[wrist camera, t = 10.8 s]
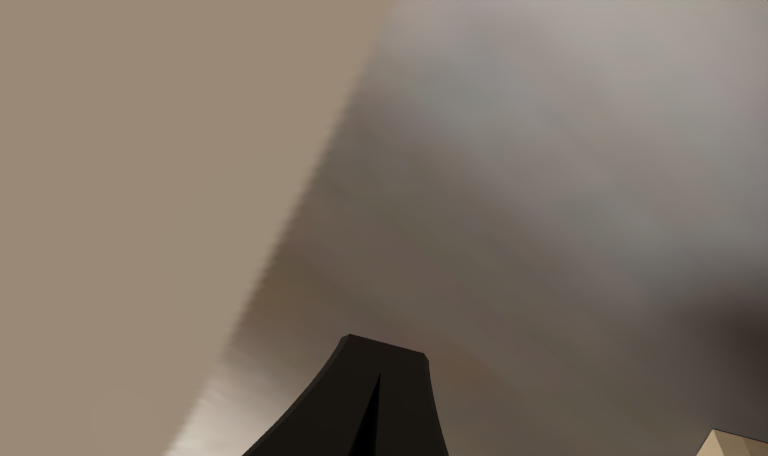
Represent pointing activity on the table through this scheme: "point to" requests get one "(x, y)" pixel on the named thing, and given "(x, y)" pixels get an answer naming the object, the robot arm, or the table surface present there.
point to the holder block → (731, 445)
